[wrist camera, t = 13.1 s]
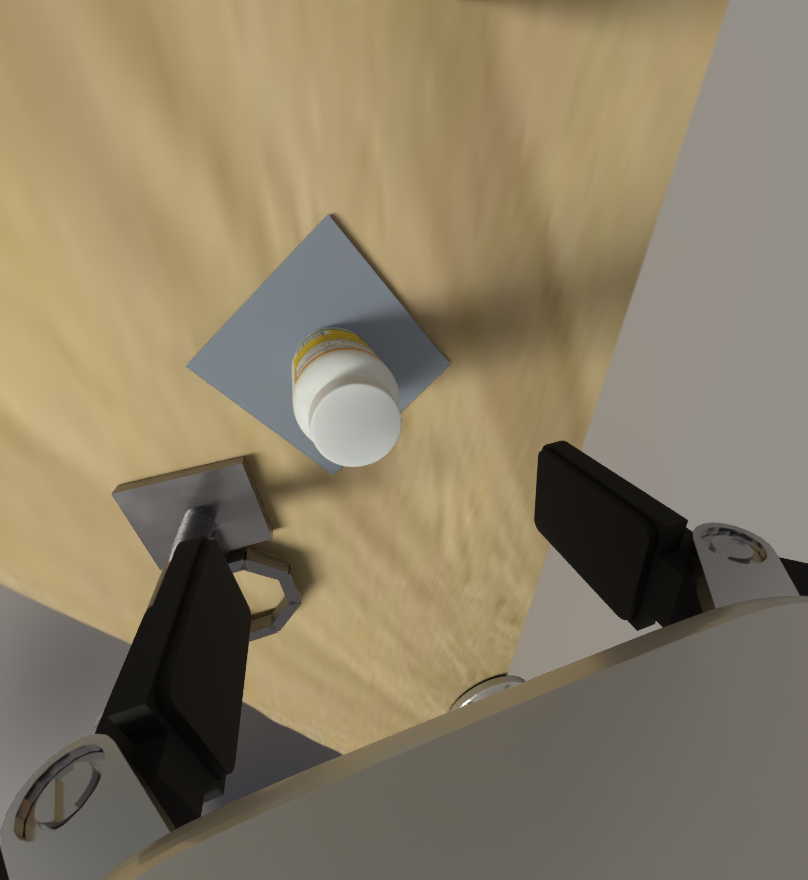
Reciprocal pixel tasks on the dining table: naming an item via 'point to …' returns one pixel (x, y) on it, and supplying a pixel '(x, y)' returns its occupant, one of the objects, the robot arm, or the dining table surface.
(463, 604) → the dining table surface
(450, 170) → the dining table surface
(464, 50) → the dining table surface
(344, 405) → the supplement bottle
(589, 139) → the dining table surface
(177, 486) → the ring stand
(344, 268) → the rubber mat
